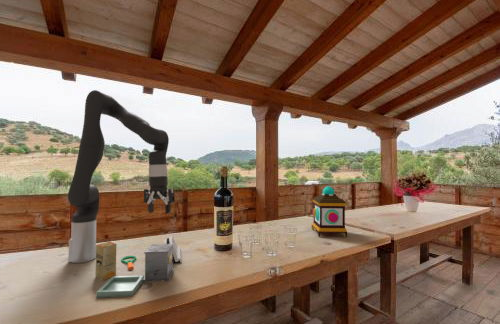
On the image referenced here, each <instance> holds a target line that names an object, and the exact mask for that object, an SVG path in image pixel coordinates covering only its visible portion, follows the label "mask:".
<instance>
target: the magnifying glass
mask: <svg viewBox="0 0 500 324" xmlns="http://www.w3.org/2000/svg"><path fill="white" fill-rule="evenodd" d="M126 259H127V260H126ZM128 259H130V260H128ZM136 260H137V256H136V255H126V256H123V257H121V259H120V261H121V263H122V264H124V265H127V269H128V270H129V271H133V270H134V269H135V268H134V264H133V263H135V262H136Z"/></svg>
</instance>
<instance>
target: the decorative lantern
mask: <svg viewBox="0 0 500 324" xmlns="http://www.w3.org/2000/svg"><path fill="white" fill-rule="evenodd" d="M311 201H312V202H313V209H312V216H313V222H312V224H311V229H312V230H311V231H314V230H315V231H316V232H317V235H318V238H321V235H322V233H323V234H324V233H325V234H327V233H329V234H343V236H344V238H347V237H348V231H347V228H346V221H345V220H346V206H347V204H348V203H347V202H346V201H345V200H344V199H343V198H340V197H339V196H338V195H337V194H336V193H335V190H334V188H333V187H332V186H329V185H328V186H326V187H324V188H323V190H322V193H321V194H319V195H317V196H314V197H313V198H312V199H311Z"/></svg>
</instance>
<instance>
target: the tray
mask: <svg viewBox="0 0 500 324" xmlns="http://www.w3.org/2000/svg"><path fill="white" fill-rule="evenodd" d="M144 278H145V274H144V275H118V276H117V275H115V276H113V277H110V278H108V280H107V281H106V282H105V283H103V285H102V286H101V287H100V288H99V289H98V290H97V291H96V295H95V296H96V298H97V299H98V298H99V299H101V298H119V297H120V298H123V297H133V296H134V295H135V293H136V292H137V291H138V289H139V288H140V286H141V285H142V284H143V279H144Z"/></svg>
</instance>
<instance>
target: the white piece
mask: <svg viewBox="0 0 500 324" xmlns="http://www.w3.org/2000/svg"><path fill="white" fill-rule="evenodd" d="M163 244H173V247H172V265H173V263H175V262H176V263H177V262H179V263H180V264H183V260H182V249H181V247H180V246H178V245H177V242H176V240H175V238H174V236H173V235H172V236H169V237H166V239H164V241H163Z"/></svg>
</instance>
